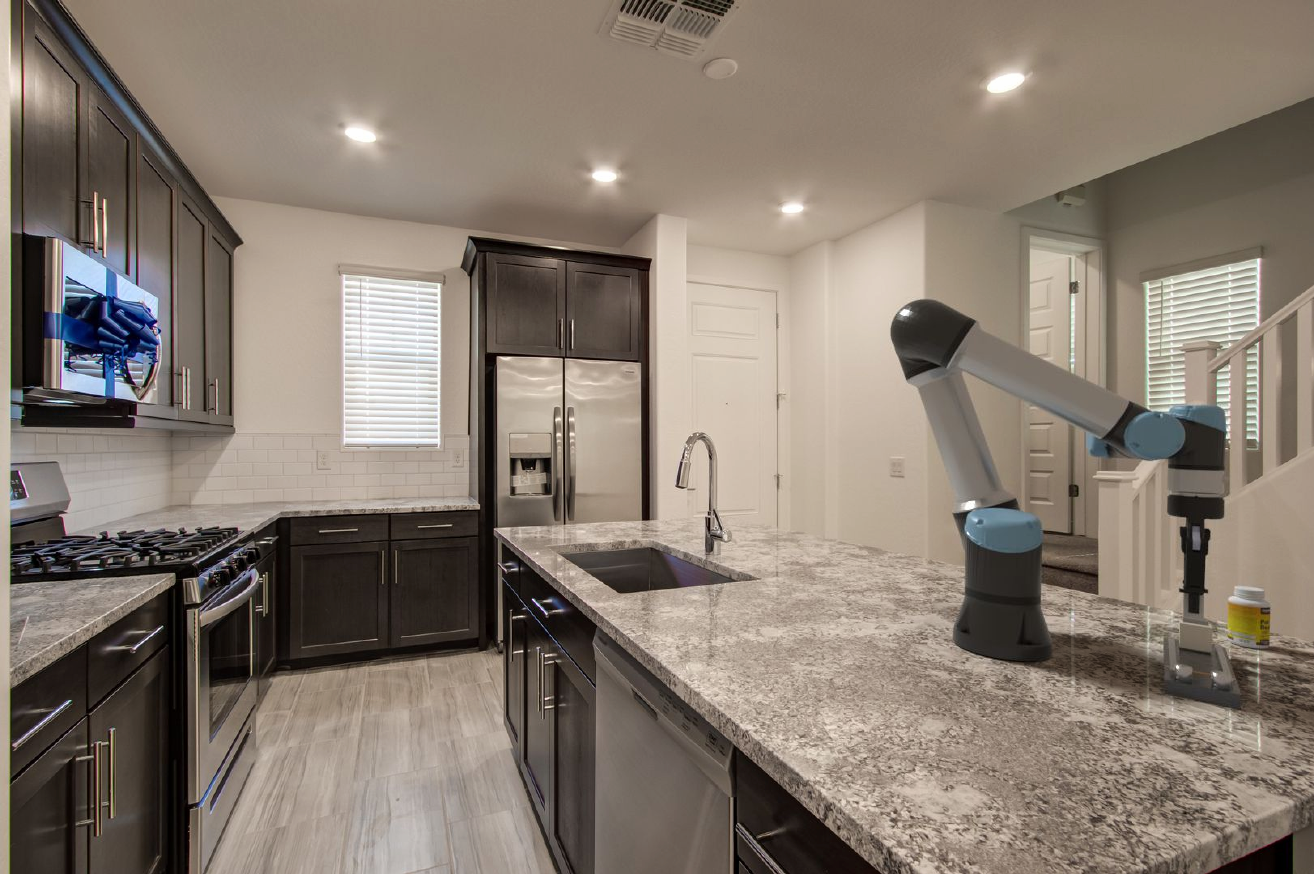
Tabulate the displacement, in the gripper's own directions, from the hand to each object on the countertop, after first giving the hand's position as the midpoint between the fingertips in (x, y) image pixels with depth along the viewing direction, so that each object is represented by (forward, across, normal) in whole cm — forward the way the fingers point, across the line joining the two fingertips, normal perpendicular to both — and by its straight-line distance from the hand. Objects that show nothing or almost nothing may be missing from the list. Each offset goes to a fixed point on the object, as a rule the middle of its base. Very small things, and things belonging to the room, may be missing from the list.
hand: (1192, 630), depth 108 cm
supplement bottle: (+4, +13, -8) cm, 16 cm away
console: (+4, -14, 0) cm, 15 cm away
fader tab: (+1, -6, 0) cm, 7 cm away
